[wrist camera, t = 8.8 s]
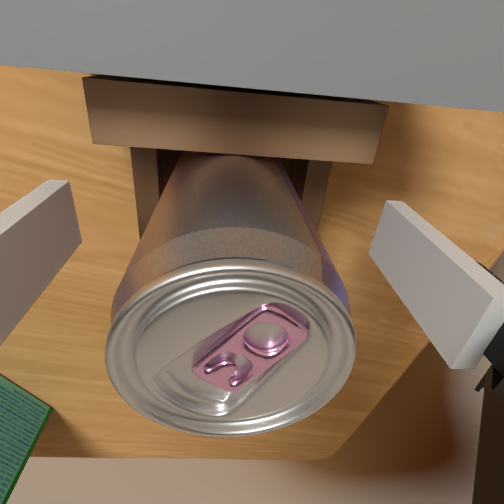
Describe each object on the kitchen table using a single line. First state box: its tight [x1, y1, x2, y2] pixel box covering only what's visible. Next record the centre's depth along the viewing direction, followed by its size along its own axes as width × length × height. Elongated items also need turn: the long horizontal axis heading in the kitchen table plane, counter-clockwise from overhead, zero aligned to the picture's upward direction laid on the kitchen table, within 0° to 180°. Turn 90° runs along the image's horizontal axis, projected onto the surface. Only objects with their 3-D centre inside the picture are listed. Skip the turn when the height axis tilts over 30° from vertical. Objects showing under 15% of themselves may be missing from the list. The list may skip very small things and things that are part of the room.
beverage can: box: [105, 151, 357, 437], centre depth 14 cm, size 6×6×15 cm
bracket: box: [82, 75, 389, 240], centre depth 16 cm, size 10×9×8 cm
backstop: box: [0, 0, 504, 112], centre depth 12 cm, size 16×3×10 cm, turn 85°
